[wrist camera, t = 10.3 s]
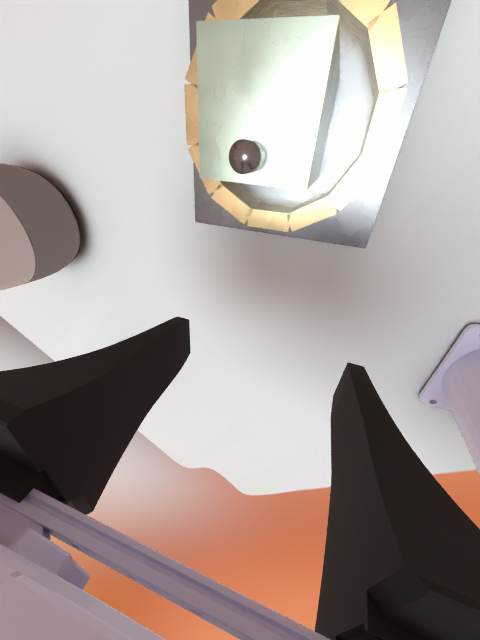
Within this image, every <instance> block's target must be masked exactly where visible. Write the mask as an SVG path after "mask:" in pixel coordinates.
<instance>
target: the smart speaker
mask: <svg viewBox="0 0 480 640" xmlns="http://www.w3.org/2000/svg"><path fill="white" fill-rule="evenodd" d="M79 246H80V232H79V227H78V223H77V220H76V218H75V215H74V213H73V211H72V209H71V207H70V206H69V204H68V202H67V201H66V200H65V198H64V197H63V196H62V194H61V193H60V192H59V191H58V190H57V189H56V188H55V187H54V186H53V185H52V184H51V183H50V182H48V181H47V180H46V179H44V178H43V177H41V176H40V175H38V174H36V173H34V172H32V171H29V170H27V169H24V168H21V167H17V166H13V165H7V164H0V290H4V289H7V288H11V287H15V286H18V285H22V284H26V283H29V282H32V281H35V280H38V279H41V278H44V277H46V276H49V275H51V274H54V273H56V272H58V271H59V270H61V269H62V268H64V267H65V266H67V265H68V264H69V263H70V262H71V261H72V260H73V259H74V257H75V256H76V254H77V252H78V250H79Z"/></svg>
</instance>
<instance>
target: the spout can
mask: <svg viewBox="0 0 480 640" xmlns="http://www.w3.org/2000/svg"><path fill="white" fill-rule="evenodd" d="M196 32H197V80H198V129H199V177H200V179H209V180H218V181H227V182H236V183H245V184H254V185H263V186H272V187H281V188H290V189H299V190H307V189H308V188H309V187H310V186H311V185H312V184H313V183H314V182H315V181H316V180H317V179H318V178H319V175H320V170H321V166H322V161H323V156H324V151H325V146H326V142H327V137H328V132H329V127H330V123H331V118H332V113H333V108H334V103H335V99H336V94H337V89H338V84H339V80H340V15H327V16H304V17H280V18H256V19H233V20H209V21H196Z"/></svg>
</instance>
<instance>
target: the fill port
mask: <svg viewBox="0 0 480 640" xmlns="http://www.w3.org/2000/svg"><path fill="white" fill-rule="evenodd" d="M450 3H451V0H189V27H190V59H191V63H190V66H189V69H188V72H187V75H186V78H185V79H186V80H188V81H189V82H190V83H191V85H189V84H185V108H186V132H187V145H193V146H192V147H191V148H190V149H188V150H189V152H190V155H191V157H192V159H193V161H194V189H195V221H196V222H199V223H205V224H212V225H218V226H225V227H231V228H238V229H244V230H251V231H257V232H263V233H270V234H276V235H283V236H289V237H296V238H302V239H309V240H315V241H321V242H328V243H334V244H341V245H347V246H354V247H360V248H366V245H367V242H368V240H369V237H370V234H371V231H372V228H373V225H374V222H375V219H376V216H377V214H378V211H379V208H380V205H381V202H382V199H383V196H384V193H385V190H386V188H387V185H388V182H389V179H390V176H391V173H392V170H393V167H394V164H395V162H396V159H397V156H398V153H399V150H400V147H401V144H402V141H403V138H404V135H405V133H406V130H407V127H408V124H409V121H410V118H411V115H412V112H413V109H414V107H415V104H416V101H417V98H418V95H419V92H420V89H421V86H422V83H423V81H424V78H425V75H426V72H427V69H428V66H429V63H430V60H431V57H432V55H433V52H434V49H435V46H436V43H437V40H438V37H439V34H440V31H441V29H442V26H443V23H444V20H445V17H446V14H447V11H448V8H449V5H450ZM327 15H340V80H339V84H338V89H337V94H336V99H335V103H334V108H333V113H332V118H331V123H330V127H329V132H328V137H327V142H326V146H325V151H324V156H323V161H322V166H321V170H320V175H319V178H318V179H317V180H316V181H315V182H314V183H313V184H312V185H311V186H310V187H309V188H308V189H307V190H299V189H290V188H281V187H272V186H263V185H254V184H245V183H236V182H227V181H218V180H209V179H200V177H199V129H198V80H197V32H196V21H209V20H233V19H256V18H280V17H304V16H327Z"/></svg>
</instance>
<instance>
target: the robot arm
mask: <svg viewBox="0 0 480 640" xmlns="http://www.w3.org/2000/svg"><path fill="white" fill-rule="evenodd" d="M189 354H190V331H189V320H188V319H185V318H181V317H175V318H173V319H171V320H168V321H166V322H164V323H162V324H160V325H158V326H155V327H153V328H151V329H149V330H147V331H145V332H142V333H140V334H138V335H136V336H133V337H131V338H128V339H126V340H124V341H121V342H119V343H116V344H114V345H111V346H108V347H105V348H103V349H99V350H96V351H93V352H90V353H87V354H83V355H80V356H76V357H72V358H68V359H64V360H61V361H56V362H52V363H47V364H43V365H37V366H32V367H27V368H21V369H14V370H7V371H0V640H165V639H164V638H162V637H160V636H159V635H157V634H155V633H154V632H152V631H151V630H149V629H147V628H146V627H144V626H142V625H141V624H139V623H138V622H136V621H134V620H133V619H131V618H129V617H127V616H126V615H124V614H122V613H121V612H119V611H117V610H116V609H114V608H112V607H111V606H109V605H107V604H106V603H104V602H102V601H101V600H99V599H97V598H95V597H93V596H92V595H90V594H88V593H87V592H85V591H83V589H84V587H85V585H86V584H87V582H88V580H89V579H90V574H89V573H88V572H87V571H85V570H84V569H83V568H82V567H81V566H79V564H77V563H76V561H74V560H73V558H72V557H71V555H70V554H69V553H68V552H66V551H65V550H63V549H62V548H61V547H59V546H57V545H56V544H54V543H53V542H51V541H50V535H52V536H54V537H56V538H58V539H59V540H61V541H63V542H65V543H67V544H69V545H70V546H72V547H74V548H76V549H77V550H79V551H81V552H83V553H85V554H87V555H88V556H90V557H92V558H94V559H96V560H97V561H99V562H101V563H103V564H105V565H106V566H108V567H110V568H112V569H114V570H115V571H117V572H119V573H121V574H123V575H125V576H127V577H128V578H130V579H132V580H134V581H135V582H137V583H139V584H141V585H143V586H144V587H146V588H148V589H150V590H152V591H153V592H155V593H157V594H159V595H161V596H163V597H164V598H166V599H168V600H170V601H172V602H173V603H175V604H177V605H179V606H181V607H182V608H184V609H186V610H188V611H190V612H192V613H194V614H195V615H197V616H199V617H201V618H202V619H204V620H206V621H208V622H210V623H212V624H213V625H215V626H217V627H219V628H221V629H223V630H224V631H226V632H228V633H230V634H231V635H233V636H235V637H237V638H239V639H241V640H480V529H479V528H478V527H477V526H476V525H475V524H474V523H473V522H472V521H471V520H470V518H469V517H468V516H467V515H466V514H465V513H464V512H463V511H462V510H461V509H460V507H459V506H458V505H457V504H456V503H455V502H454V501H453V499H451V497H450V496H449V495H448V494H447V492H446V491H445V490H444V489H443V488H442V487H441V485H440V484H439V483H438V482H437V481H436V480H435V478H434V477H433V476H432V474H431V473H430V472H429V471H428V469H427V468H426V467H425V466H424V464H423V463H422V462H421V460H420V459H419V458H418V456H417V455H416V454H415V452H414V451H413V450H412V448H411V447H410V445H409V444H408V443H407V441H406V440H405V438H404V437H403V435H402V434H401V432H400V431H399V429H398V427H397V426H396V424H395V423H394V421H393V419H392V418H391V416H390V414H389V413H388V411H387V409H386V408H385V406H384V404H383V402H382V401H381V399H380V397H379V395H378V393H377V391H376V390H375V388H374V386H373V384H372V382H371V380H370V378H369V376H368V374H367V372H366V370H365V368H364V367H363V366H359V365H355V364H352V363H347V365H346V368H345V370H344V372H343V375H342V377H341V379H340V382H339V384H338V386H337V388H336V391H335V393H334V395H333V403H332V412H331V464H332V476H331V494H330V506H329V517H328V527H327V537H326V546H325V555H324V565H323V573H322V581H321V589H320V597H319V604H318V612H317V620H316V626H315V631H313V630H311V629H308V628H307V627H305V626H302V625H301V624H299V623H297V622H295V621H293V620H291V619H289V618H287V617H285V616H283V615H281V614H279V613H277V612H275V611H273V610H271V609H269V608H268V607H266V606H264V605H262V604H260V603H258V602H256V601H254V600H252V599H250V598H248V597H246V596H244V595H242V594H240V593H238V592H236V591H234V590H232V589H230V588H228V587H226V586H224V585H222V584H220V583H218V582H217V581H215V580H212V579H211V578H209V577H206V576H204V575H203V574H201V573H199V572H197V571H195V570H193V569H191V568H189V567H187V566H185V565H183V564H181V563H179V562H177V561H175V560H173V559H171V558H169V557H167V556H166V555H164V554H161V553H160V552H158V551H156V550H154V549H152V548H150V547H148V546H146V545H144V544H142V543H140V542H138V541H136V540H134V539H132V538H130V537H128V536H126V535H124V534H122V533H120V532H118V531H116V530H115V529H112V528H111V527H109V526H107V525H104V524H103V523H101V522H99V521H97V520H95V519H93V518H91V517H89V516H87V514H89V513H90V512H92V511H93V510H94V508H95V506H96V504H97V502H98V500H99V498H100V496H101V494H102V492H103V490H104V488H105V486H106V484H107V482H108V480H109V478H110V477H111V474H112V473H113V471H114V469H115V467H116V466H117V464H118V462H119V460H120V458H121V457H122V455H123V453H124V451H125V449H126V448H127V446H128V444H129V443H130V441H131V439H132V438H133V436H134V434H135V432H136V431H137V429H138V428H139V426H140V424H141V423H142V421H143V420H144V418H145V416H146V415H147V413H148V412H149V411H150V409H151V408H152V406H153V405H154V404H155V402H156V401H157V400H158V399H159V397H160V396H161V395H162V393H163V392H164V391H165V390H166V388H167V387H168V386H169V384H170V383H171V382H172V380H173V379H174V378H175V377H176V375H177V374H178V373H179V371H180V370H181V368H182V366H183V365H184V363H185V361H186V360H187V358H188V356H189ZM418 398H419V401H420V402H421V403H423V404H427V405H430V406H434V407H438V408H441V409H445V410H449V411H452V413H453V415H454V417H455V420H456V422H457V424H458V426H459V429H460V431H461V433H462V436H463V438H464V440H465V443H466V445H467V447H468V449H469V452H470V454H471V456H472V459H473V461H474V463H475V466H476V468H477V470H478V472H479V474H480V324H471V325H468V326H467V327H466V328H465V329H464V330H463V332H462V333H461V335H460V336H459V338H458V339H457V340H456V342H455V343H454V345H453V346H452V348H451V349H450V351H449V352H448V354H447V355H446V356H445V358H444V359H443V361H442V362H441V364H440V365H439V367H438V368H437V369H436V371H435V372H434V374H433V375H432V377H431V378H430V380H429V381H428V382H427V384H426V385H425V387H424V388H423V390H422V391H421V393H420V394H419V396H418ZM431 400H433V401H431Z"/></svg>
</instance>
